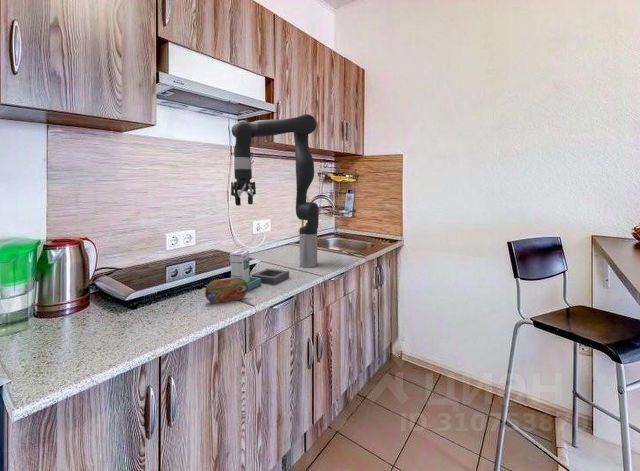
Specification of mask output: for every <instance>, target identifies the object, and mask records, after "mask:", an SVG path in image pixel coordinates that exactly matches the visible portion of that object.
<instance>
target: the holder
mask: <svg viewBox="0 0 640 471" xmlns="http://www.w3.org/2000/svg"><path fill="white" fill-rule="evenodd" d="M250 277H256V278H261V284H263V285H270V286H276V285H278V284H280V283H282V282H283V281H287V279H290V272H289V270H281V269H280V270H279V269H273V268H264V269H262V270H260V271H257V272H254V273H252V274H250Z"/></svg>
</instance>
